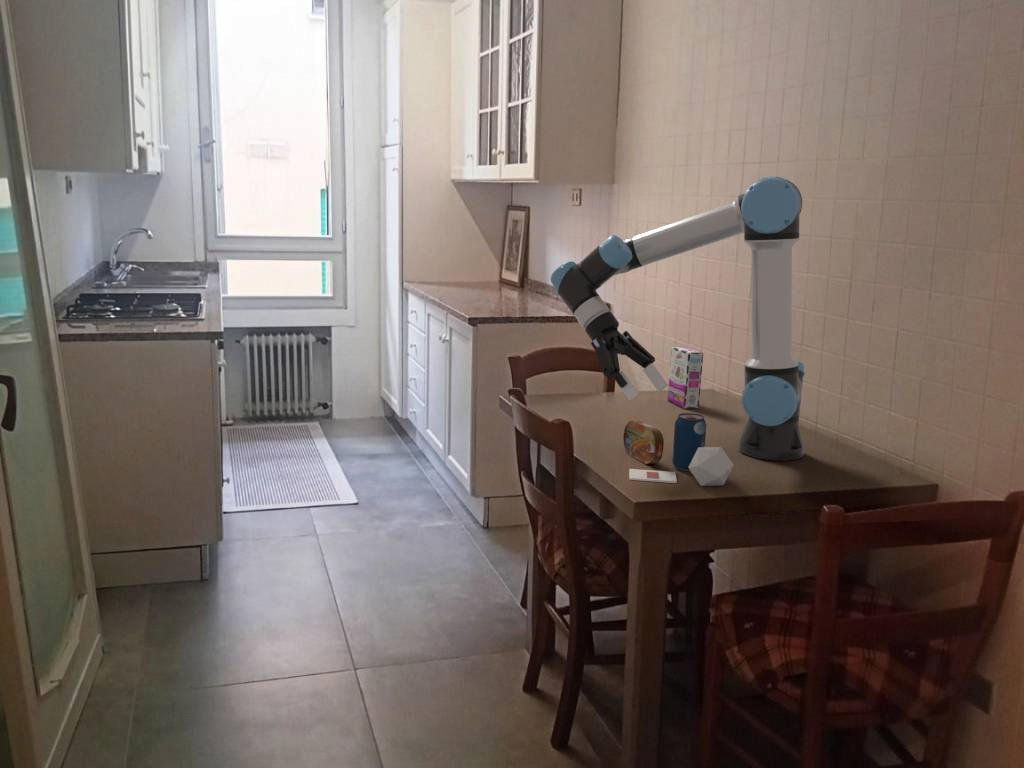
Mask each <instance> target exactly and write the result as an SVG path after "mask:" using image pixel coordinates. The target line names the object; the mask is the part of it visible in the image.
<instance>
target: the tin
mask: <svg viewBox="0 0 1024 768" xmlns="http://www.w3.org/2000/svg"><path fill="white" fill-rule="evenodd" d="M622 438H623V447H624V449H625V452H626V454H627V455H628V456H630V457H631V458H633V459H635V460H636V461H639V462H641V463H642V464H644V465H649V464H650V465H653V464H654V465H655V464H657V463H659V462H661V459H662V458H663V452H664V445H665V441H664V437H663V434H662V432H661V430H660V429H658V428H657V427H654V426H652V425H650V424H648V423H646V422H644V421H642V420H641V421H640V420H629V421H628V422H627V423H626V425H625V427H624V430H623V437H622Z"/></svg>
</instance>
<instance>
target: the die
mask: <svg viewBox="0 0 1024 768" xmlns="http://www.w3.org/2000/svg"><path fill="white" fill-rule="evenodd" d="M733 467H734V463H733V462H732V460H731V459H730V458H729V457H728V454H726V452H725V451H724V449H723V448H722V447H721V446H709V447H708V446H705V447H698V449H697V451H696V453H695V455H694V457H693V459H692V461H691V463H690V465H689V467H688V468H689V469H690V471H689V472H691V475H693V476H694V479H695V480H696V481H697V482H698V484H699V486H700V487H711V486H712V487H713V486H714V487H715V486H716V487H717V486H724V485H725V483H726V481H727V479H728V478H729V475H730V473H731V471H732V470H733Z"/></svg>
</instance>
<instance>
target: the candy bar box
mask: <svg viewBox="0 0 1024 768" xmlns="http://www.w3.org/2000/svg"><path fill="white" fill-rule="evenodd" d="M703 362H704V352H702V351H698V350H696V349H692V348H690V347H686V346H671V353H670V365H669V375H668V376H669V378H668V389H667V390H668V391H667V402H669V403H671V404H674V405H676V406H677V407H680V408H682V409H683V410H687V409H688V410H690V409H693V410H695V409H699V408H700V398H701V397H700V395H701V387H702V386H701V383H702V373H703Z"/></svg>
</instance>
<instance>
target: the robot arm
mask: <svg viewBox="0 0 1024 768" xmlns="http://www.w3.org/2000/svg"><path fill="white" fill-rule="evenodd" d="M802 209H803V197H802V194H801V191H800V190H799V188H798V187H797V186H796V185H795V183H793V182H792V181H790V180H789V179H785V178H783V177H780V176H771V175H770V176H768V177H762V178H760V179H757V180H756V181H754V182H753V183H752V184H751V185H750V186H749V187H748V188H747V189H746V190H745V193H742V194H739V195H737V196H736V198H735V199H734V201H733V202H730V203H729V202H728V203H727V204H724V205H721V206H718V207H715V208H712V209H709V210H706V211H704V212H703V211H702V212H701V213H697V214H695V215H693V216H689V217H687V218H683V219H680V220H678V221H674V222H672V223H670V224H667V225H663V226H660V227H658V228H655V229H651V230H649V231H646V232H644V233H640V234H638V235H635V236H632V237H628V238H626V239H622V238H621V237H620V236H617V235H616V234H612V235H610V236H608V237H607V238H606V239H605V240H602V241H601V242H600V243H599V245H598V246H597V247H595V248H594V249H593V250H592V251H591V252H590V253H589V254H587V256H585V257H584V258H583V259H582V260H581V261H580V262H578V263H576V262H575V261H573V260H569V261H567V262H564V263H562V265H559V266H557V268H556V269H555V270H553V272H552V273H551V276H550V282H551V284H552V285H553V288H554V289H555V291H556V292H557V294H558V296H559V297H560V298H561V299H562V300H563V302H564V303H565V305H566V306H567V307H568V309H569V310H570V312H571V313H572V315H573V316H574V317H575V318H576V321H577V323H578V324H580V326H581V327H582V328H583V329H585V330H584V331H585V333H586V334H587V336H588V337H589V338H590V340H591V342H590V344H591V346H592V348H593V349H594V352H595V354H596V358H597V360H598V362H599V363H598V364H599V366H600V368H601V371H602V374H603V375H604V377H607V380H610V381H611V380H612V378H613V380H614V381H615V382H616V384H617V385H618V386H619V388H620V389H621V391H622V392H623V393H624V395H625V396H626V397H627V399H628V401H629V402H631V401H633V400H634V399H636V397H638V396H639V395H640V394H641V393H640V392H639V390H638V389H637V388H636V386H635V385H634V383H633V382H632V381H631V380H630V378H629V377H628V376H627V374H626V372H625V371H624V370H621V368H620V362H619V361H620V360H619V355H621V356H626V357H627V358H629V360H631V361H633V362H635V363H636V364H637V365H639V367H642V368H643V370H642V371H643V372H644V374H645V375H646V377H647V378H648V380H649V381H650V382H651V384H652V385H653V386H654V388H655V389H656V390H657V392H658V393H661V392H662V391H663V390H664V389H666V388H667V387H669V383H667V381H666V380H665V378H664V377H663V376H662V375H661V373H660V372H659V370H658V368H657V367H656V366H655V365H654V363H655V361H656V358H655V357H654V356H653V355H652V353H650V352H649V351H648V350H647V349H645V347H644V346H643V345H641V344H640V342H638V341H637V340H636V339H634V337H632V335H631V334H630V332H628V330H625V331H624V332H623V333H621V332H620V331H619V330H618V328H619V326H620V322H619V320H618V319H617V318H616V316H615V315H614V314H613V313H612V312H610V308H609V307H608V305H607V304H606V303H605V301H604V300H603V299H602V298H601V296H600V295H599V294H598V291H597V290H598V289H599V288H601V287H602V286H603V285H605V283H606V282H608V281H609V280H610V279H611V278H612V277H614V276H617V275H619V274H620V275H621V274H625V273H628V272H630V271H633V270H635V269H639V268H642V267H645V266H647V265H651V264H653V263H656V262H658V261H662V260H665V259H668V258H671V257H674V256H677V255H681V254H683V253H686V252H689V251H693V250H695V249H698V248H702V247H704V246H708V245H711V244H715V243H717V242H720V241H723V240H726V239H729V238H732V237H735V236H738V235H741V234H744V235H743V238H744V239H743V240H744V243H745V244H746V245H747V246H748V247H749V248H750V250H751V256H750V257H751V263H750V264H751V265H750V266H751V270H750V271H751V279H750V280H751V356H750V357H749V359H747V360H746V362H745V363H744V389H743V391H742V395H741V403H742V404H741V405H742V407H743V410H744V412H745V413H746V415H747V416H748V420H747V422H746V425H745V427H744V429H743V431H742V434H741V435H740V438H739V441H738V451H739V452H740V453H742V454H743V455H746V456H749V457H752V458H756V459H761V460H767V461H778V462H779V461H780V462H783V461H784V462H787V461H797V460H800V459H801V458H803V457H804V450H805V446H804V441H803V438H802V437H803V436H802V434H801V433H802V432H801V427H800V415H801V414H800V413H801V404H802V393H803V385H804V376H805V374H806V373H805V365H804V362H803V361H800V360H796V359H795V358H794V357H793V355H792V317H793V316H792V308H793V307H792V305H793V304H792V299H793V297H792V295H793V290H792V289H793V287H792V286H793V285H792V283H793V280H792V279H793V276H792V275H793V266H792V265H793V247H794V246H795V245H796V243H798V242H799V240H800V215H801V212H802Z"/></svg>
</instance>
